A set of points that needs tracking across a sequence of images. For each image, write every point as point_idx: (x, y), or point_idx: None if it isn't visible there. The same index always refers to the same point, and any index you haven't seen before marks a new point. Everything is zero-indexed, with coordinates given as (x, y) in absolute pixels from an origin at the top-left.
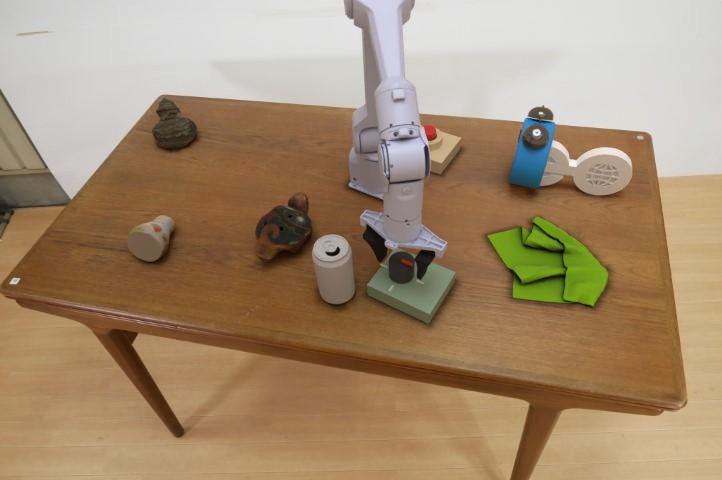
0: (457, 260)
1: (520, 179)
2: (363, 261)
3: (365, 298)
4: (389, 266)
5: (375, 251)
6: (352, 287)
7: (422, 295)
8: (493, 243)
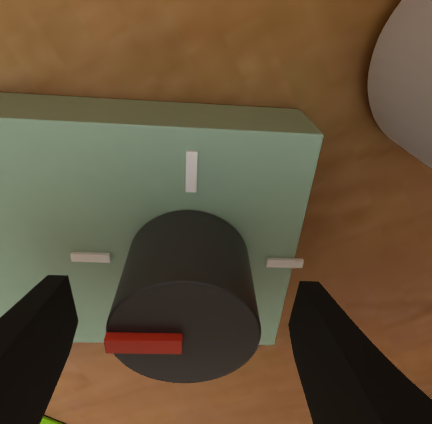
0: (82, 352)
1: None
2: (370, 242)
3: (303, 87)
4: (238, 283)
5: (368, 361)
6: (403, 78)
7: (31, 201)
8: None
